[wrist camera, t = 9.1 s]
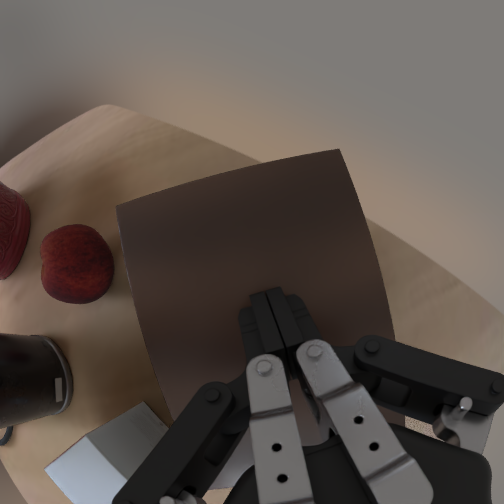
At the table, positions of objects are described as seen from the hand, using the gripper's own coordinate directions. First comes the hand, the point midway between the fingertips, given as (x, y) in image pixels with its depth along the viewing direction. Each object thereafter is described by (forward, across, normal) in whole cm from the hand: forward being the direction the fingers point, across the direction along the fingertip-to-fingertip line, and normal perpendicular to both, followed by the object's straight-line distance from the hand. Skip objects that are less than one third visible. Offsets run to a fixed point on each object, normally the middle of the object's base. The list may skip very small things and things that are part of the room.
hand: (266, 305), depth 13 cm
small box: (+2, +15, +15) cm, 22 cm away
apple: (+14, +15, +3) cm, 21 cm away
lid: (0, 0, +2) cm, 2 cm away
